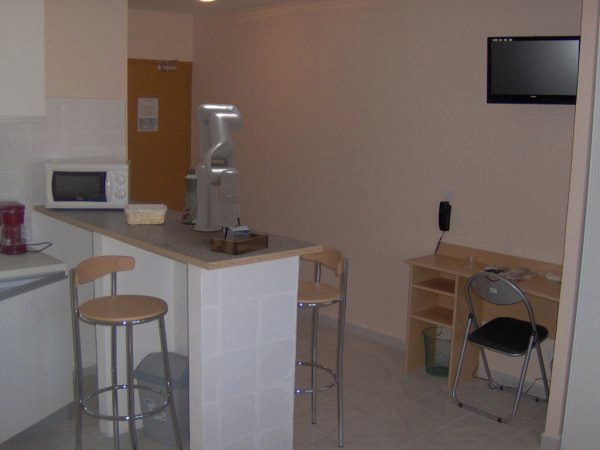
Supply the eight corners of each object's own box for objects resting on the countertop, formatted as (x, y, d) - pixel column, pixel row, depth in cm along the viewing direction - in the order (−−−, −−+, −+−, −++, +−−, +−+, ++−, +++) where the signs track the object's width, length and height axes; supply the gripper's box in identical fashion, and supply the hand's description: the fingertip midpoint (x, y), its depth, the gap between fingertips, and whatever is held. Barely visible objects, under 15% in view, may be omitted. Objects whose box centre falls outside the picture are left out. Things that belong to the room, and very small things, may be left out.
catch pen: (210, 250, 289) (210, 238, 289) (243, 242, 307) (243, 231, 306) (235, 254, 282) (236, 242, 281) (267, 247, 300) (268, 235, 299)
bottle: (196, 225, 347) (196, 167, 342) (178, 224, 348) (179, 166, 344) (202, 222, 355) (202, 166, 350) (185, 221, 357) (185, 165, 352)
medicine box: (229, 249, 292) (233, 231, 288) (224, 244, 295) (228, 225, 291) (246, 248, 296) (250, 229, 292) (240, 242, 299) (245, 224, 296)
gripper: (209, 199, 295) (209, 242, 298) (237, 202, 287) (236, 247, 290) (221, 197, 301) (221, 240, 305) (249, 201, 293) (248, 244, 296)
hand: (228, 243), depth 297 cm, fingers closed
